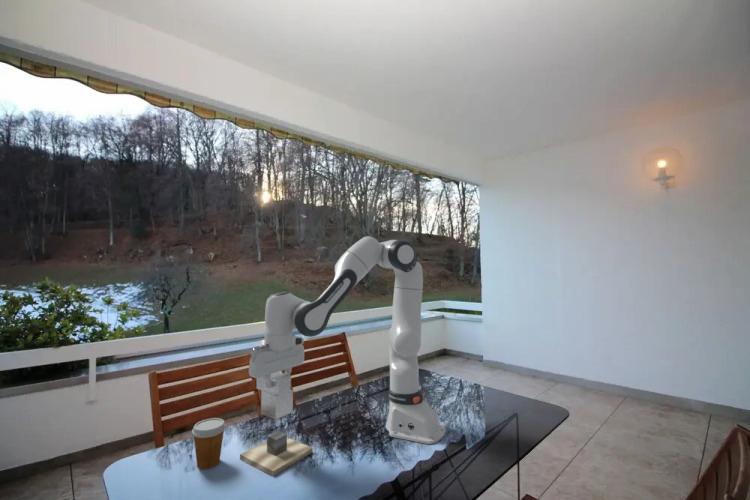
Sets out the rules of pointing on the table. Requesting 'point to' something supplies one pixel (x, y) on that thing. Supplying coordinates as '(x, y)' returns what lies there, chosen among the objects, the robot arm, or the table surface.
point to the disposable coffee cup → (208, 442)
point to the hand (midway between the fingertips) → (277, 384)
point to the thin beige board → (276, 453)
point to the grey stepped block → (276, 395)
